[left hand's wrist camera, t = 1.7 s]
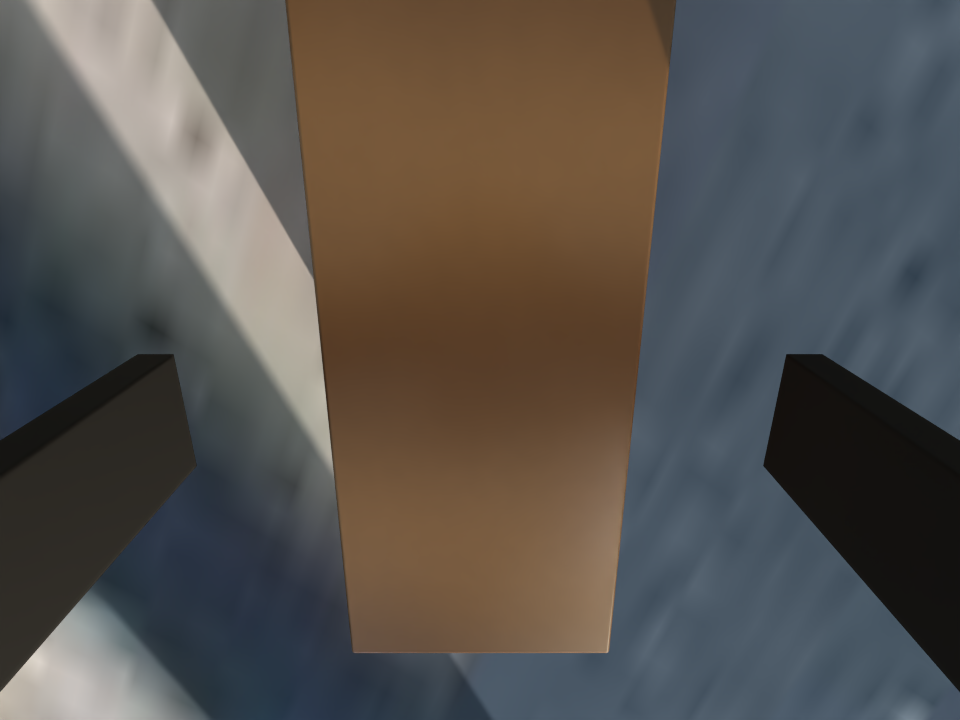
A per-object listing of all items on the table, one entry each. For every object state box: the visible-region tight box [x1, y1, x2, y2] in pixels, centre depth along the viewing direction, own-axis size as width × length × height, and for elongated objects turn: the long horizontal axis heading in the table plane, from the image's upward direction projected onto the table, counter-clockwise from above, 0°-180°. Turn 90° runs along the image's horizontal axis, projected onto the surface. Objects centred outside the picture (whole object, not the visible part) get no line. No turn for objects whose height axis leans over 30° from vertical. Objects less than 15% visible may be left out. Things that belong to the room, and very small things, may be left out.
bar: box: [285, 0, 676, 653], centre depth 12 cm, size 24×5×9 cm, turn 0°
